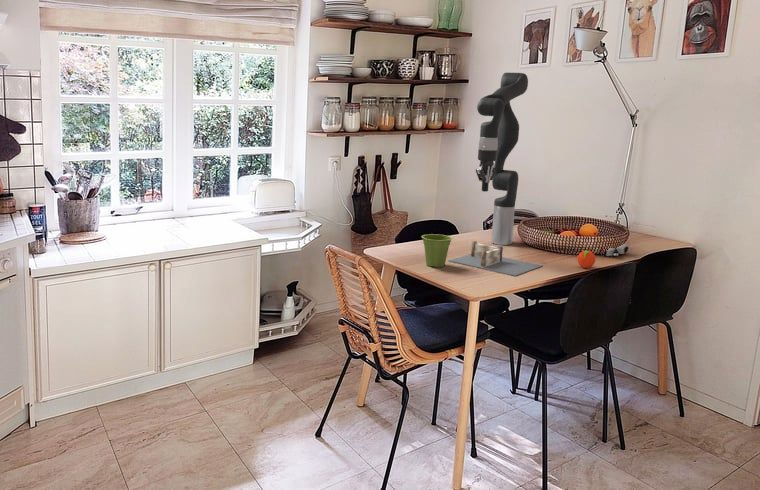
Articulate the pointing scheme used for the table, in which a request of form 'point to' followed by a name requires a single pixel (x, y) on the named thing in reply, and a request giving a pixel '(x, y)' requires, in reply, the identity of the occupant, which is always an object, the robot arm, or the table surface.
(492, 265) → the card
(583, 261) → the clementine
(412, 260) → the table surface
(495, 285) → the table surface
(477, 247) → the fixed fence section
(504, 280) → the table surface
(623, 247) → the robot toy
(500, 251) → the swinging fence section
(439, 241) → the plant pot
